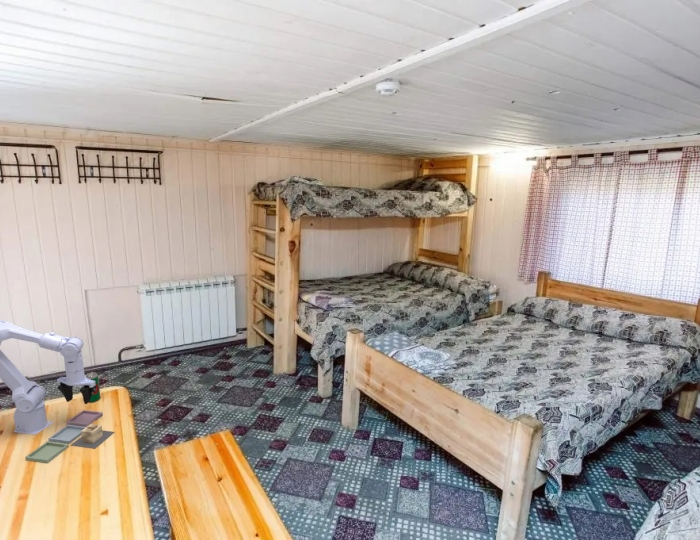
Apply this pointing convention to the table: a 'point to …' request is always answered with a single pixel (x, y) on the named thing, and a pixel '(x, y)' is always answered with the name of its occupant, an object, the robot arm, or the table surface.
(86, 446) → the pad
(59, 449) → the tray near
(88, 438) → the letter cube
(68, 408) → the table surface
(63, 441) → the tray mid
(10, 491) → the table surface
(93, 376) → the soda can
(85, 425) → the tray far
